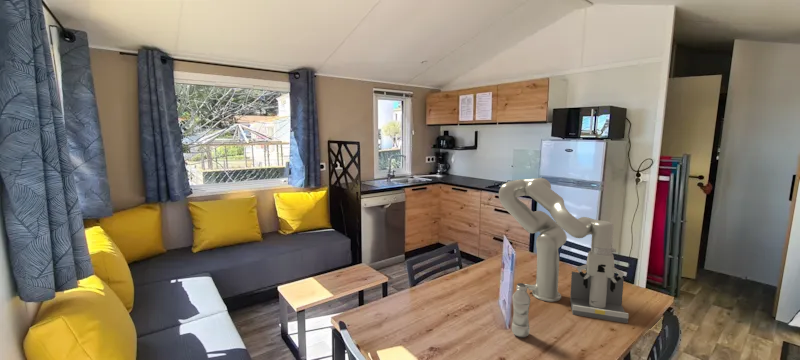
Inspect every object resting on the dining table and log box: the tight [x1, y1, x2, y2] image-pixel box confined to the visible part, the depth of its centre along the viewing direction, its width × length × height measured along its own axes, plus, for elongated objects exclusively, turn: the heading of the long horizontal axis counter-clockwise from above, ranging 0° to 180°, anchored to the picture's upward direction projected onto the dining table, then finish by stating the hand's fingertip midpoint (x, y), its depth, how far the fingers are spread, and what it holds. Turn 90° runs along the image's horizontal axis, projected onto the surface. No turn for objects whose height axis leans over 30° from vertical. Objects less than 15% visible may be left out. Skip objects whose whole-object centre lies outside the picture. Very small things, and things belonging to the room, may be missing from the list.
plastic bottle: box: [511, 282, 531, 338], centre depth 131 cm, size 6×7×20 cm
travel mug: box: [589, 265, 608, 309], centre depth 147 cm, size 6×7×20 cm
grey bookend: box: [569, 271, 629, 324], centre depth 148 cm, size 20×13×14 cm, turn 68°
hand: (598, 288), depth 148 cm, fingers open, 9 cm apart
